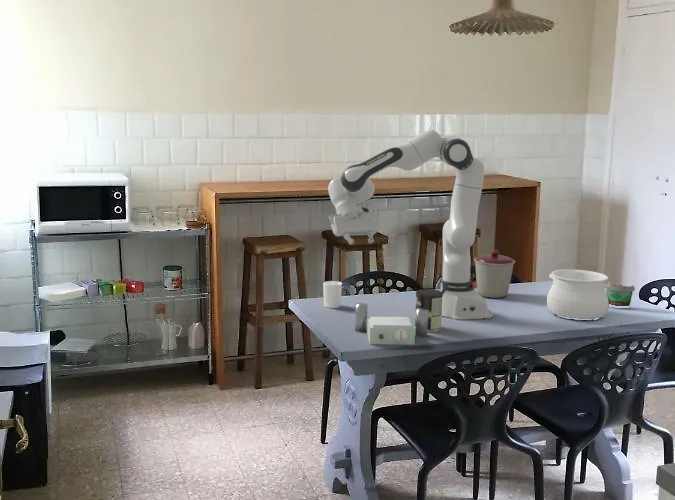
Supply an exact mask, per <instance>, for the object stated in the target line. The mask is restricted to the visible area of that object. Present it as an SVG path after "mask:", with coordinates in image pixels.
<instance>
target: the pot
mask: <svg viewBox="0 0 675 500" xmlns="http://www.w3.org/2000/svg"><path fill="white" fill-rule="evenodd" d="M548 276H549V278H550V279H552V280H553V281H552V286H551V287H550V290H549V291H548V294H547V297H546V305H547V309H548V311H549V312H550V313H551V314H552V313H553V314H556V315H559V316H563V317H569V318H578V319H595V318H601V317H602V318H604V317H605V316H606V315H607V312H608V310H609V307H608V306H609V302H608V297H607V294H606V288H605V287H609V286H610V285H611V282H610V281H608V280H609V276H608V275H606V274H604V273H601V272H597V271H592V270H584V269H556V270H553V271H552V272H551V273H549V275H548ZM553 314H552V315H553ZM602 318H601V319H602Z"/></svg>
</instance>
